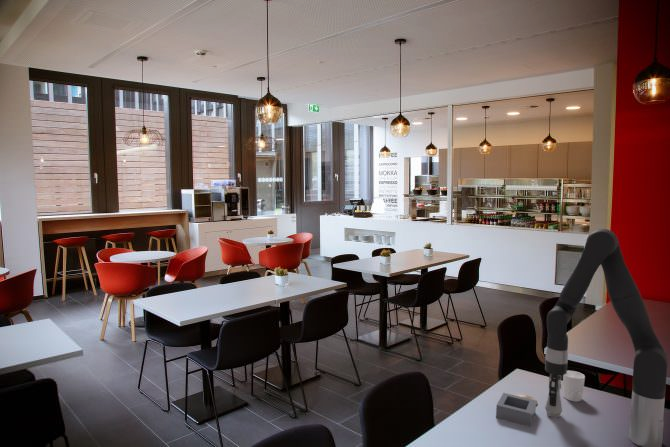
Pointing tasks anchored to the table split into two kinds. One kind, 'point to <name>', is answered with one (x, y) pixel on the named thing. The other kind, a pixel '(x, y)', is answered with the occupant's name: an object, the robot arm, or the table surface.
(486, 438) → the table surface
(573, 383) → the white cup
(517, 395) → the cork coaster
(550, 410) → the salt shaker
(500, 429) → the table surface
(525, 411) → the well
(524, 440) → the table surface
